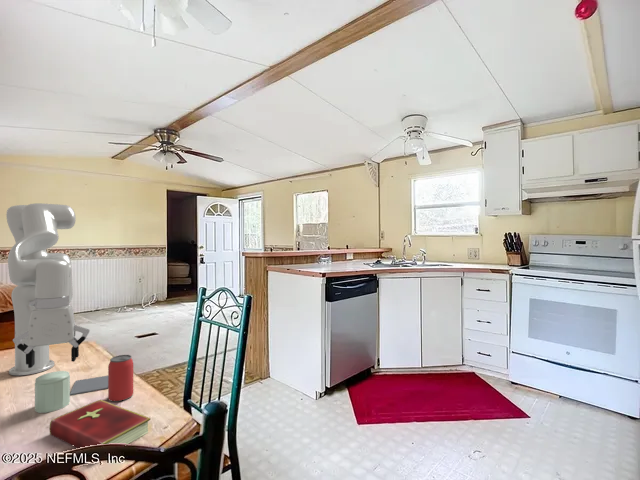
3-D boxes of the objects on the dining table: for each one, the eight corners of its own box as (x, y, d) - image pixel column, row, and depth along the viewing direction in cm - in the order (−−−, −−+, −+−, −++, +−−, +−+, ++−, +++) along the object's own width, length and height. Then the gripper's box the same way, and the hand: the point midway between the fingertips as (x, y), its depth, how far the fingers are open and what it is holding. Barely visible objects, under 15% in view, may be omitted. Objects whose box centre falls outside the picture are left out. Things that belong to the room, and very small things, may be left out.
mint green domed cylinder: (39, 403, 97) (39, 374, 97) (71, 397, 101) (71, 369, 101) (31, 415, 90) (31, 384, 90) (66, 408, 94) (66, 378, 94)
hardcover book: (100, 463, 72) (100, 443, 72) (49, 436, 82) (49, 419, 82) (150, 434, 83) (150, 417, 83) (100, 413, 92) (100, 398, 92)
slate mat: (75, 381, 112) (75, 380, 112) (114, 375, 117) (114, 374, 117) (69, 395, 102) (69, 394, 102) (111, 388, 107) (111, 386, 107)
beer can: (121, 403, 97) (121, 362, 97) (102, 401, 98) (102, 360, 98) (138, 393, 103) (138, 354, 103) (120, 391, 105) (120, 353, 105)
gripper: (8, 308, 88) (8, 373, 88) (87, 302, 96) (87, 361, 96) (17, 304, 95) (18, 364, 94) (91, 298, 103) (91, 354, 102)
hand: (53, 363), depth 95 cm, fingers open, 9 cm apart
